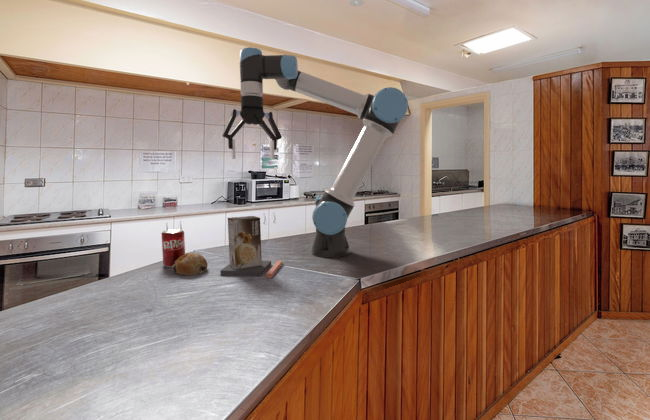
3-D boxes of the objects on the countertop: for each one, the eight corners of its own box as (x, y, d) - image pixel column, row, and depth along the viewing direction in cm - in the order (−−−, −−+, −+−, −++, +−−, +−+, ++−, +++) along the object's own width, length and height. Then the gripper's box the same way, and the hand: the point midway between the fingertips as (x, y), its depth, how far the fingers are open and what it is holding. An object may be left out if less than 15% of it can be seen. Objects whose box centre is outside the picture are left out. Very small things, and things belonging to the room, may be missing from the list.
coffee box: (255, 261, 122) (254, 215, 120) (262, 265, 116) (261, 217, 115) (228, 265, 117) (227, 217, 115) (234, 270, 111) (233, 219, 110)
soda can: (163, 263, 125) (162, 230, 124) (185, 261, 128) (184, 228, 127) (162, 268, 119) (160, 233, 117) (185, 266, 121) (183, 232, 120)
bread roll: (191, 287, 110) (200, 265, 109) (163, 272, 112) (172, 250, 110) (207, 278, 120) (216, 258, 119) (182, 264, 121) (190, 244, 120)
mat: (271, 265, 123) (271, 260, 123) (260, 276, 110) (260, 271, 110) (234, 264, 124) (234, 260, 124) (220, 275, 111) (220, 270, 111)
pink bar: (282, 264, 124) (282, 260, 124) (271, 277, 108) (271, 274, 108) (277, 264, 124) (277, 260, 124) (266, 277, 108) (266, 273, 108)
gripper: (283, 101, 130) (284, 159, 133) (212, 95, 120) (215, 158, 122) (289, 97, 123) (290, 159, 126) (215, 91, 113) (218, 158, 115)
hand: (253, 159), depth 124 cm, fingers open, 13 cm apart
